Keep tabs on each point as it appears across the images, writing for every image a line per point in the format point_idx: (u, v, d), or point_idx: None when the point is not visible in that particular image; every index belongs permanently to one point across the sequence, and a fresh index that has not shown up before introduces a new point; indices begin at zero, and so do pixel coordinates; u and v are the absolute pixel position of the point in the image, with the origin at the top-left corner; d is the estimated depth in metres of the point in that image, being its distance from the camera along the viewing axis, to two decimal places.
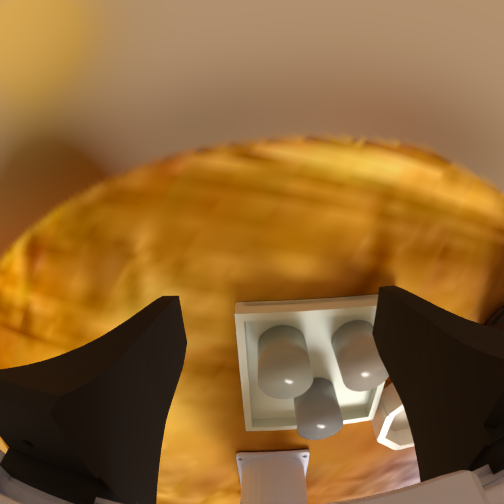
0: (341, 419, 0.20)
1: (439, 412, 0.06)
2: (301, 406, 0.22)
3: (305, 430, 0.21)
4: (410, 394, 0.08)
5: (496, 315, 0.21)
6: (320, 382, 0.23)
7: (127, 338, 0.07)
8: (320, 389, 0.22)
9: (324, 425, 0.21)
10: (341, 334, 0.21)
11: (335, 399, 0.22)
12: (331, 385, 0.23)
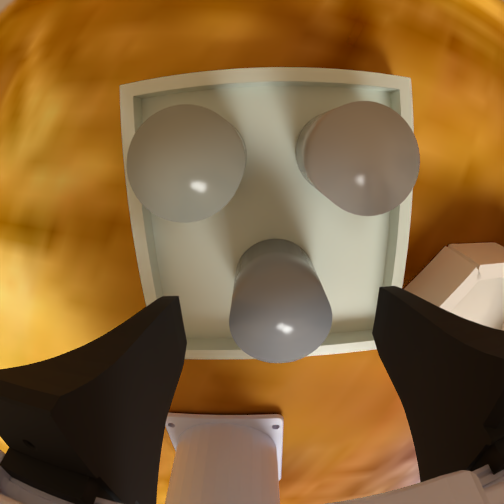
0: (326, 304, 0.10)
1: (439, 412, 0.06)
2: (240, 277, 0.12)
3: (247, 331, 0.11)
4: (410, 394, 0.08)
5: None
6: (282, 243, 0.13)
7: (126, 338, 0.07)
8: (281, 249, 0.12)
9: (289, 319, 0.11)
10: (309, 122, 0.11)
11: (312, 270, 0.12)
12: (304, 253, 0.13)
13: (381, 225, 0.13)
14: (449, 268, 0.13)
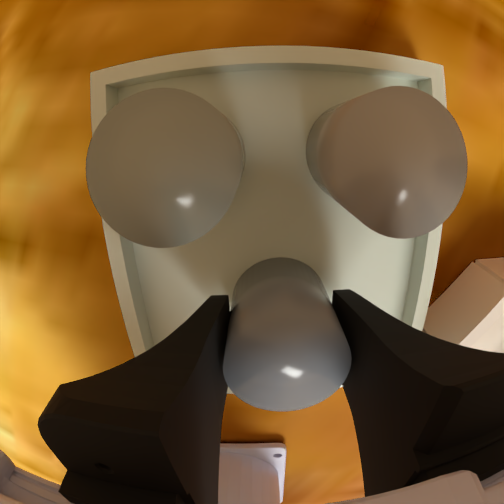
0: (345, 347, 0.08)
1: (378, 426, 0.06)
2: (237, 311, 0.09)
3: (246, 378, 0.08)
4: (357, 404, 0.08)
5: None
6: (289, 264, 0.11)
7: (194, 340, 0.07)
8: (289, 274, 0.10)
9: (298, 365, 0.08)
10: (324, 114, 0.09)
11: (327, 300, 0.09)
12: (315, 276, 0.11)
13: (406, 240, 0.11)
14: (478, 289, 0.11)
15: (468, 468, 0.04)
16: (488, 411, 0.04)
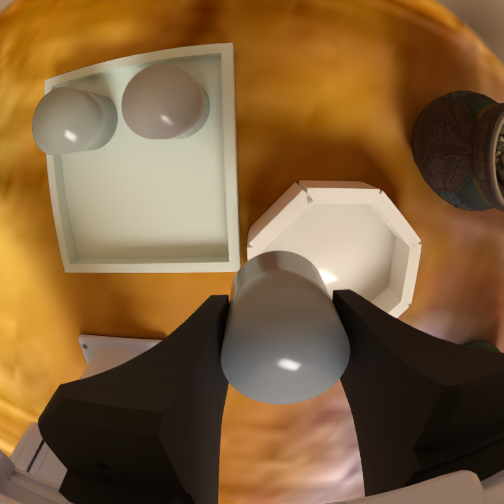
0: (343, 336, 0.08)
1: (378, 426, 0.06)
2: (234, 304, 0.09)
3: (245, 371, 0.08)
4: (357, 404, 0.08)
5: (426, 107, 0.15)
6: (285, 257, 0.11)
7: (194, 340, 0.07)
8: (284, 266, 0.10)
9: (296, 356, 0.08)
10: None
11: (324, 290, 0.09)
12: (312, 267, 0.11)
13: (218, 161, 0.17)
14: (287, 196, 0.17)
15: (468, 468, 0.04)
16: (489, 410, 0.04)
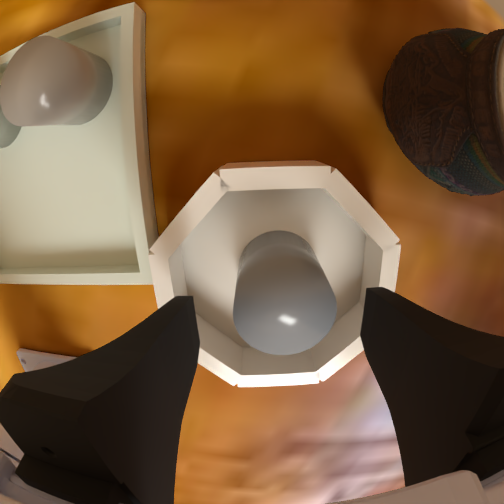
0: (330, 292, 0.10)
1: (422, 416, 0.06)
2: (242, 270, 0.12)
3: (252, 323, 0.11)
4: (395, 397, 0.08)
5: None
6: (284, 234, 0.13)
7: (145, 339, 0.07)
8: (283, 240, 0.12)
9: (293, 309, 0.10)
10: None
11: (315, 259, 0.12)
12: (306, 243, 0.13)
13: None
14: None
15: None
16: None
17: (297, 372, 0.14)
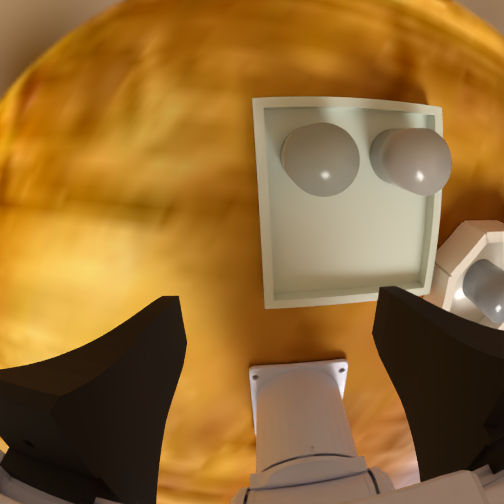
0: None
1: (439, 412, 0.06)
2: (486, 282, 0.18)
3: (495, 308, 0.17)
4: (410, 394, 0.08)
5: None
6: (488, 261, 0.19)
7: (126, 338, 0.07)
8: (494, 265, 0.18)
9: None
10: (381, 136, 0.16)
11: None
12: (495, 265, 0.19)
13: (421, 205, 0.19)
14: (466, 236, 0.18)
15: None
16: None
17: None
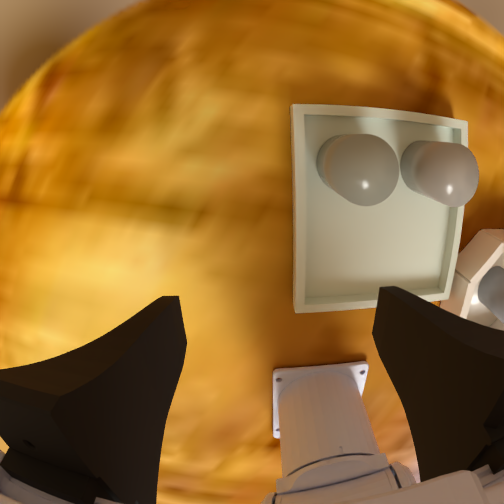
0: None
1: (439, 412, 0.06)
2: (501, 288, 0.18)
3: None
4: (410, 394, 0.08)
5: None
6: (502, 268, 0.19)
7: (127, 338, 0.07)
8: None
9: None
10: (413, 147, 0.16)
11: None
12: None
13: (445, 214, 0.19)
14: (484, 244, 0.18)
15: None
16: None
17: None
